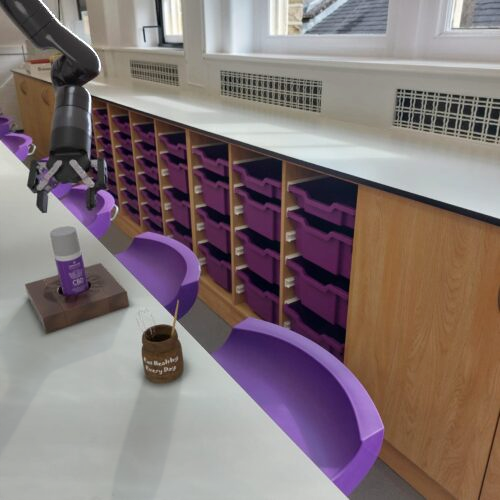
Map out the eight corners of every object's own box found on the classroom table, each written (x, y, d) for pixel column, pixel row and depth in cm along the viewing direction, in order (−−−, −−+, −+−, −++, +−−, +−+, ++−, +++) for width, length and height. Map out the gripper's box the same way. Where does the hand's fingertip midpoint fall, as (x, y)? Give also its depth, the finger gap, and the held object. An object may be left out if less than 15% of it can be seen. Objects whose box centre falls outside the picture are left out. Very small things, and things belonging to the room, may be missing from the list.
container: (80, 311, 91) (64, 237, 84) (60, 307, 92) (43, 234, 86) (96, 298, 95) (82, 227, 88) (76, 295, 96) (61, 225, 90)
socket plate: (46, 335, 84) (42, 317, 83) (28, 299, 95) (24, 284, 94) (129, 307, 91) (126, 291, 90) (103, 277, 103) (100, 262, 101)
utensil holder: (147, 361, 76) (136, 295, 71) (187, 358, 77) (179, 291, 72) (142, 386, 71) (130, 316, 66) (185, 383, 71) (177, 313, 66)
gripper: (26, 126, 92) (18, 203, 86) (102, 122, 93) (99, 199, 87) (41, 147, 99) (35, 220, 93) (112, 144, 100) (110, 216, 94)
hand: (66, 210), depth 90 cm, fingers open, 8 cm apart
